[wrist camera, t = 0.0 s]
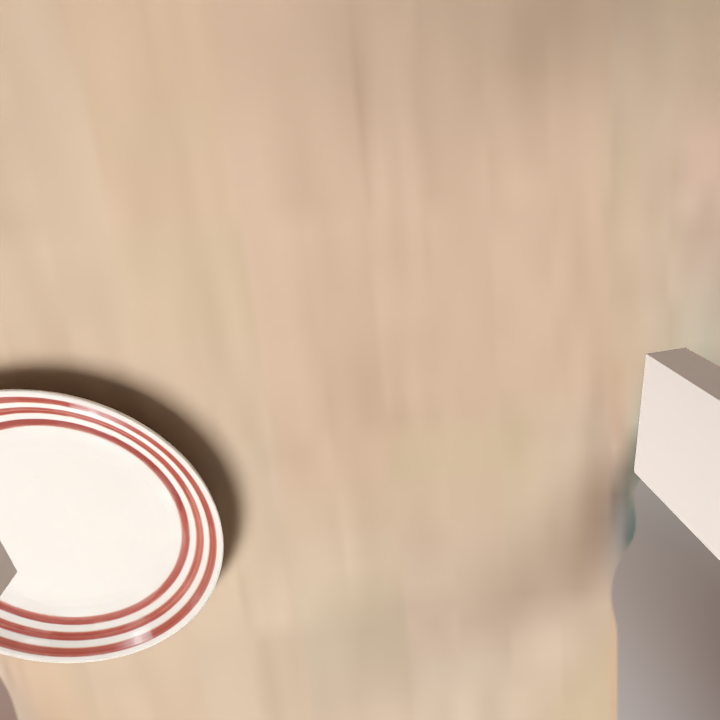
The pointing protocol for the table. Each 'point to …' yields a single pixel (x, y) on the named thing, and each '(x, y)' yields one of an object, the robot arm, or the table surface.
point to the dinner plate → (97, 531)
